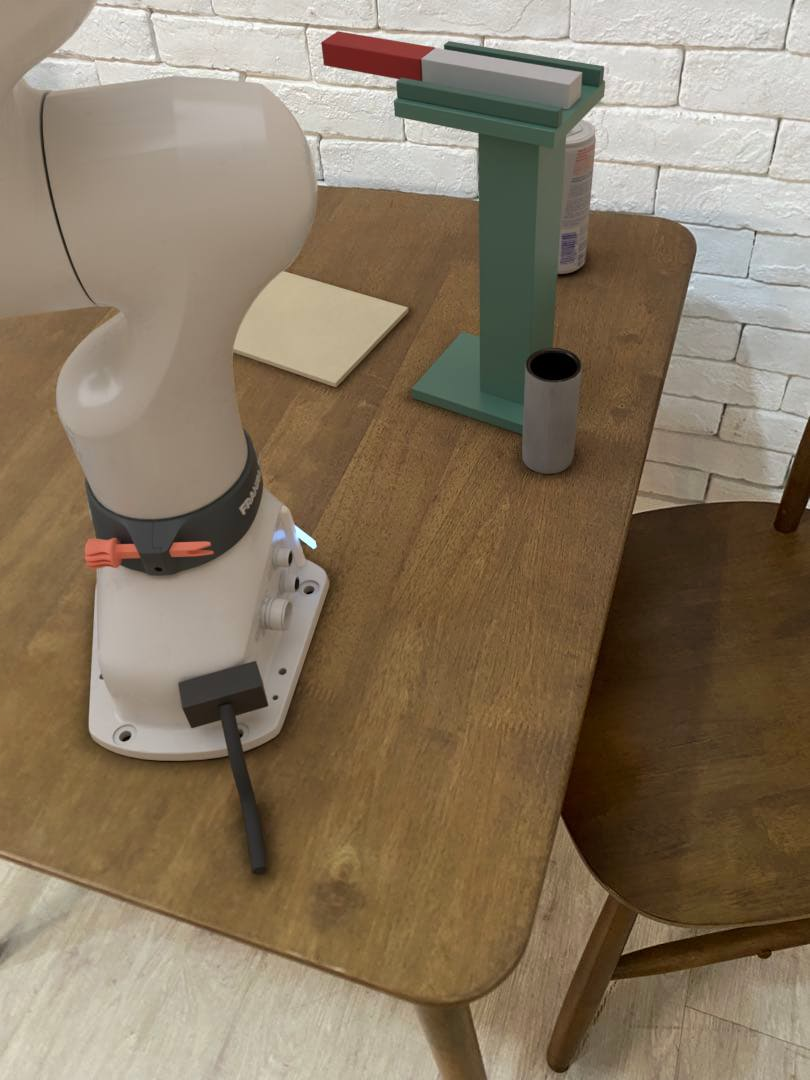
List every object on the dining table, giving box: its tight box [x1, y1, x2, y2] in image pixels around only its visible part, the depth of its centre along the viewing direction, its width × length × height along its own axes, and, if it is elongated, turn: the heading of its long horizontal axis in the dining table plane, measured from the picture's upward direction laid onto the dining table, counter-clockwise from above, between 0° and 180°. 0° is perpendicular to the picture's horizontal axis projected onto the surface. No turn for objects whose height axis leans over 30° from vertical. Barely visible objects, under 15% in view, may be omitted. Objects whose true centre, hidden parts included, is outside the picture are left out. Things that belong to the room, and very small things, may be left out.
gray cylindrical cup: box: [521, 347, 583, 475], centre depth 79 cm, size 4×4×10 cm
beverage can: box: [557, 119, 597, 275], centre depth 98 cm, size 6×6×15 cm
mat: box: [233, 270, 409, 388], centre depth 100 cm, size 24×14×1 cm, turn 59°
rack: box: [393, 40, 606, 436], centre depth 79 cm, size 13×10×29 cm
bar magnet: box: [320, 30, 582, 110], centre depth 70 cm, size 21×2×2 cm, turn 59°
